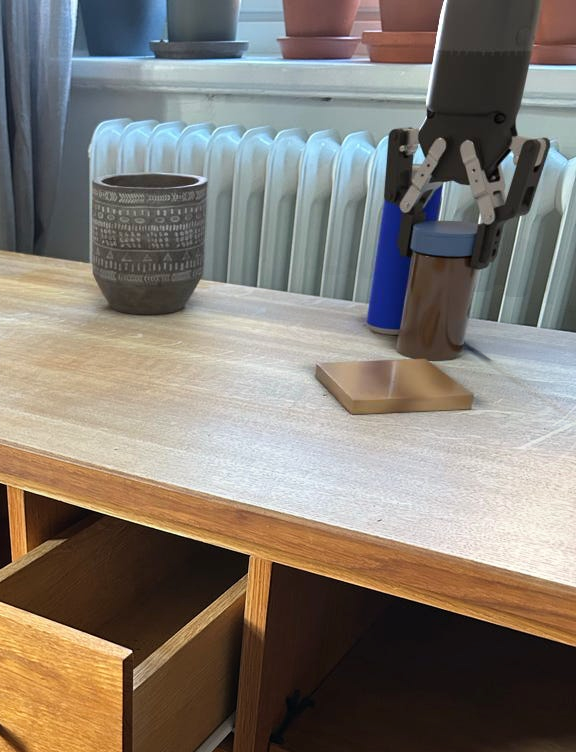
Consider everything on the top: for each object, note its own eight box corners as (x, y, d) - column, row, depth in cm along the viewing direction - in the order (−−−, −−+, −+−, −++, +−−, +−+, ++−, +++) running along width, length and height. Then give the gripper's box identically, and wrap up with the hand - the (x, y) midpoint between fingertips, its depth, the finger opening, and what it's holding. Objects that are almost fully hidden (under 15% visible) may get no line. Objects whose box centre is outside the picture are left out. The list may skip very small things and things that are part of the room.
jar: (446, 341, 94) (468, 225, 88) (472, 359, 89) (497, 237, 83) (386, 343, 93) (405, 227, 87) (410, 361, 88) (431, 239, 82)
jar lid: (462, 240, 89) (466, 219, 88) (499, 254, 84) (503, 231, 83) (397, 243, 88) (401, 222, 87) (431, 258, 83) (435, 235, 82)
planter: (70, 304, 107) (67, 179, 100) (148, 287, 114) (150, 168, 107) (145, 325, 99) (148, 191, 92) (224, 305, 106) (232, 179, 99)
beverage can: (423, 326, 98) (452, 165, 90) (409, 338, 95) (437, 171, 86) (374, 320, 101) (398, 162, 92) (358, 331, 97) (381, 168, 89)
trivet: (422, 371, 86) (425, 358, 85) (471, 409, 77) (474, 394, 77) (314, 376, 85) (316, 362, 84) (351, 414, 77) (353, 400, 76)
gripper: (592, 46, 75) (538, 268, 84) (429, 43, 84) (396, 245, 93) (548, 47, 71) (496, 282, 80) (381, 44, 80) (352, 255, 89)
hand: (443, 261), depth 86 cm, fingers closed on jar lid, 6 cm apart
